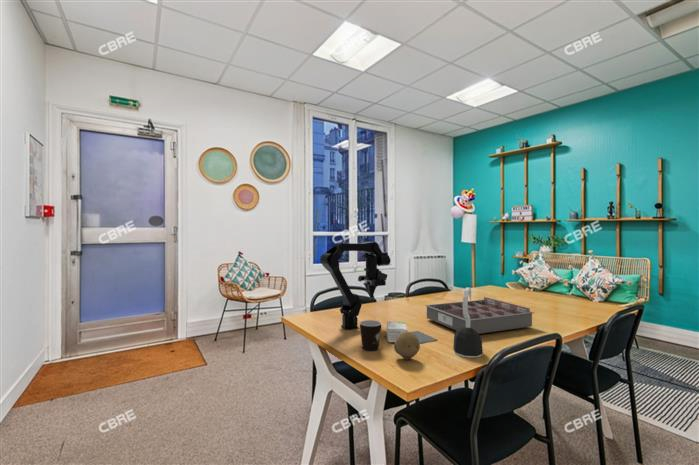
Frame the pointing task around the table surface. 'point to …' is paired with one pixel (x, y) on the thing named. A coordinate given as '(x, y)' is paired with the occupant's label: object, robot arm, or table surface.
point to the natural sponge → (407, 345)
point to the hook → (467, 334)
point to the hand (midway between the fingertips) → (371, 297)
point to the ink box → (395, 330)
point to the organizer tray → (481, 315)
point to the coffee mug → (370, 334)
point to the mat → (422, 337)
